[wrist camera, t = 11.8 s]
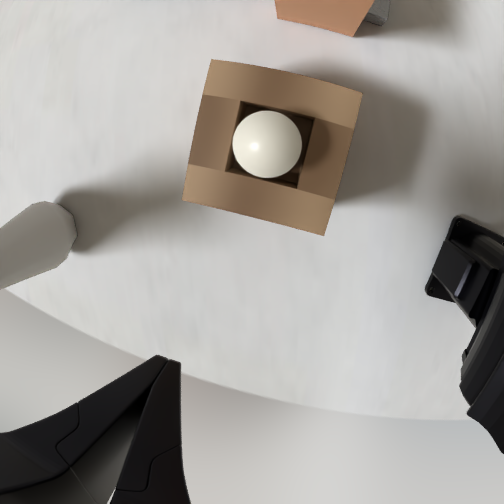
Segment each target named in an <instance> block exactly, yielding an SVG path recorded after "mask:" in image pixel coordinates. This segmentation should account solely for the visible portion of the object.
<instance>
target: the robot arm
mask: <svg viewBox="0 0 504 504" xmlns="http://www.w3.org/2000/svg"><path fill="white" fill-rule="evenodd" d="M458 221H460V223H459V225H458V226H457V222H458ZM502 243H503V244H502ZM430 288H433V289H432V290H431V291H429V290H430ZM425 292H426V293H427V295H428V296H431V297H435V298H439V299H443V300H446V301H450V302H454V303H456V304H457V305H458V306H459V307H460V309H461V310H462V311H463V313H464V314H465V315H466V316H467V318H468V319H469V320H470V321H471V323H472V324H473V325H474V327H475V328H476V330H475V333H474V335H473V337H472V339H471V341H470V343H469V345H468V347H467V349H465V350H464V352H463V354H462V361H463V366H462V368H461V383H460V385H459V387H460V389H461V392H462V394H463V396H464V398H465V400H466V401H467V403H468V404H469V405H470V406H471V407H470V408H469V410H468V411H467V415H468V416H469V417H471V418H473V419H474V420H476V421H477V422H479V423H480V424H481V425H482V426H483V427H484V428H485V429H486V430H487V431H488V432H489V433H490V435H491V436H492V438H493V439H494V441H495V442H496V444H497V446H498V448H499V449H500V451H501V452H502V453H503V454H504V237H502V236H500V235H498V234H496V233H494V232H492V231H490V230H488V229H486V228H484V227H481V226H479V225H477V224H475V223H473V222H471V221H468V220H466V219H464V218H462V217H459V216H456V217H454V218H453V220H452V223H451V225H450V228H449V231H448V234H447V236H446V239H445V241H444V242H443V245H442V247H441V250H440V252H439V255H438V257H437V259H436V262H435V264H434V267H433V269H432V273H431V275H430V278H429V280H428V282H427V284H426V286H425ZM181 438H182V437H181V363H180V362H178V361H175V360H172V359H168V358H166V357H163V356H160V355H155V356H154V357H152V358H150V359H149V360H147V361H146V362H144V363H142V364H141V365H139V366H137V367H136V368H134V369H132V370H131V371H129V372H127V373H126V374H124V375H123V376H121V377H119V378H118V379H116V380H114V381H113V382H111V383H109V384H108V385H106V386H104V387H102V388H101V389H99V390H97V391H96V392H94V393H92V394H90V395H89V396H87V397H86V398H84V399H82V400H80V401H79V402H78V403H75V404H73V405H71V406H69V407H68V408H66V409H64V410H62V411H60V412H58V413H56V414H54V415H52V416H49V417H47V418H45V419H42V420H40V421H37V422H35V423H32V424H30V425H27V426H24V427H22V428H19V429H16V430H13V431H10V432H4V433H0V504H107V502H108V500H109V498H110V496H111V495H112V493H113V491H114V489H116V490H115V492H114V494H113V497H112V500H111V502H110V504H191V502H190V498H189V494H188V490H187V486H186V481H185V476H184V470H183V459H182V439H181ZM115 487H116V488H115Z"/></svg>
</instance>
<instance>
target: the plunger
mask: <svg viewBox="0 0 504 504" xmlns="http://www.w3.org/2000/svg"><path fill="white" fill-rule="evenodd" d="M301 149H302V141H301V136H300V133H299V130H298V128H297V127H296V125H295V124H294V123H293V122H292V121H291V120H290V119H289V118H288V117H286V116H285V115H283V114H281V113H278V112H275V111H259V112H256V113H253V114H251V115H249V116H248V117H246V118H245V119H244V120H243V121H242V122H241V123H240V124H239V125H238V127H237V128H236V131H235V133H234V136H233V151H234V155H235V157H236V159H237V161H238V163H239V164H240V165H241V166H242V168H243V169H245V170H246V171H247V172H249V173H250V174H252V175H255V176H258V177H263V178H273V177H277V176H280V175H283V174H285V173H286V172H288V171H289V170H290V169H291V168H292V167H293V166H294V165H295V164H296V162H297V161H298V159H299V157H300V154H301Z"/></svg>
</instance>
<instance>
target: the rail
mask: <svg viewBox="0 0 504 504" xmlns="http://www.w3.org/2000/svg"><path fill="white" fill-rule="evenodd" d="M389 6H390V0H375V1H374V2H373V4H372V6H371V7H370V9H369V11H368V12H367V14H366V16H365V17H364V19H363V20H365V21H368V22H371V23H374V24H376V25H379V26H382V25H383V24H384V23H385V21H386V20H387V19H388V13H389Z"/></svg>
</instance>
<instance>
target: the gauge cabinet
mask: <svg viewBox="0 0 504 504" xmlns="http://www.w3.org/2000/svg"><path fill="white" fill-rule="evenodd" d="M362 94H363V93H361V92H358V91H355V90H352V89H349V88H346V87H343V86H339V85H336V84H333V83H329V82H326V81H322V80H318V79H315V78H311V77H307V76H303V75H299V74H295V73H290V72H286V71H281V70H276V69H271V68H266V67H261V66H255V65H249V64H243V63H237V62H229V61H222V60H213V59H211V63H210V66H209V70H208V74H207V78H206V82H205V86H204V91H203V95H202V99H201V103H200V108H199V112H198V117H197V122H196V126H195V131H194V136H193V141H192V146H191V151H190V156H189V162H188V167H187V173H186V178H185V184H184V190H183V196H182V200H184V201H188V202H192V203H197V204H201V205H205V206H209V207H213V208H217V209H222V210H226V211H230V212H234V213H238V214H242V215H246V216H250V217H254V218H258V219H262V220H266V221H269V222H273V223H277V224H281V225H285V226H289V227H292V228H296V229H300V230H304V231H307V232H311V233H315V234H318V235H322V236H324V234H325V231H326V228H327V224H328V221H329V218H330V215H331V211H332V208H333V205H334V201H335V198H336V195H337V191H338V188H339V184H340V181H341V177H342V174H343V170H344V166H345V163H346V159H347V155H348V151H349V148H350V144H351V140H352V136H353V132H354V128H355V124H356V120H357V116H358V112H359V107H360V103H361V99H362ZM259 111H275V112H278V113H281V114H283V115H285V116H286V117H288V118H289V119H290V120H291V121H292V122H293V123H294V124H295V125H296V127H297V128H298V130H299V133H300V136H301V141H302V149H301V154H300V157H299V159H298V161H297V162H296V164H295V165H294V166H293V167H292V168H291V169H290V170H289V171H288V172H286V173H285V174H283V175H280V176H277V177H273V178H263V177H258V176H255V175H252V174H250V173H249V172H247V171H246V170H245V169H243V168H242V166H241V165H240V164H239V163H238V161H237V159H236V157H235V155H234V151H233V136H234V133H235V131H236V128H237V127H238V125H239V124H240V123H241V122H242V121H243V120H244V119H245V118H246V117H248V116H249V115H251V114H253V113H256V112H259Z"/></svg>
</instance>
